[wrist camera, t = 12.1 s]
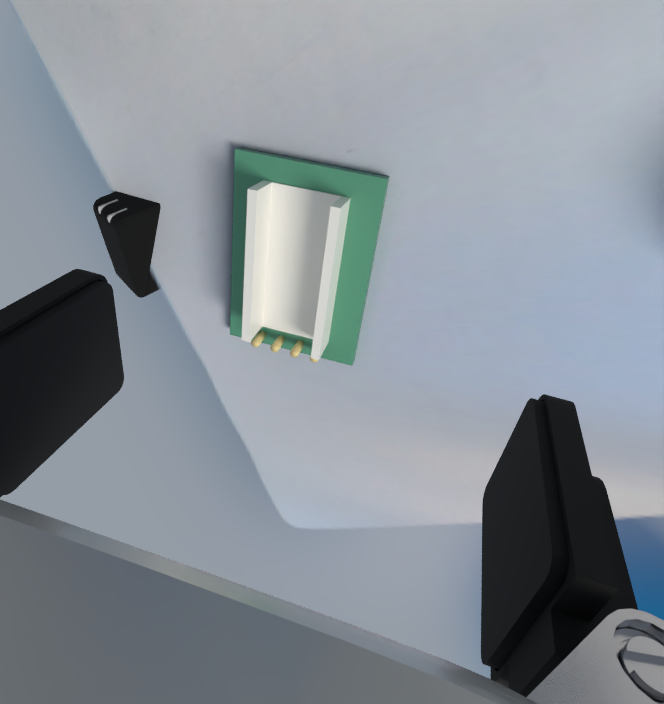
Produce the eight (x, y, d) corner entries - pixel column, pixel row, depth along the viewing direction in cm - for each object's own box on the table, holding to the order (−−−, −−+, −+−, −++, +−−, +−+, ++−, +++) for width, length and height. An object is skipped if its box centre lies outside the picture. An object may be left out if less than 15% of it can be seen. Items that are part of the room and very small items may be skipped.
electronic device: (195, 242, 58) (117, 279, 53) (182, 165, 50) (90, 200, 45) (216, 260, 56) (138, 300, 51) (207, 184, 48) (113, 223, 43)
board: (239, 147, 41) (215, 155, 37) (389, 176, 39) (380, 188, 36) (234, 329, 51) (214, 351, 47) (354, 360, 49) (344, 385, 45)
